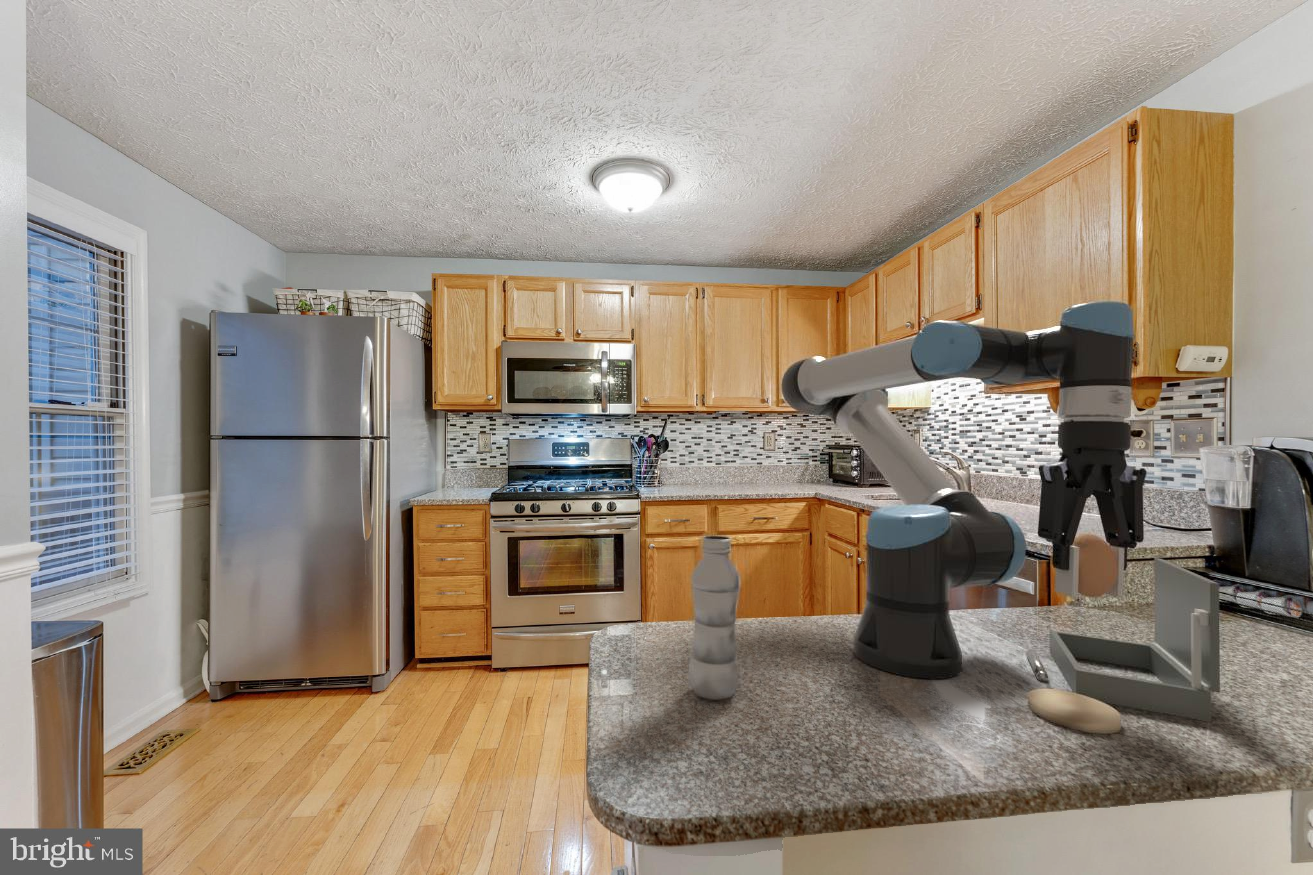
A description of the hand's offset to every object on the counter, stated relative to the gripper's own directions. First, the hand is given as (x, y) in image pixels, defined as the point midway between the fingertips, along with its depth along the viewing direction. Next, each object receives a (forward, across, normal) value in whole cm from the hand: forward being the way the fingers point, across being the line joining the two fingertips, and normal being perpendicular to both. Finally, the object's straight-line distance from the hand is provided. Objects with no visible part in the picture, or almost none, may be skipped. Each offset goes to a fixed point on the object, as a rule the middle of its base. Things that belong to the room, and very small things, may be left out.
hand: (1088, 594), depth 71 cm
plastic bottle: (+14, -50, +2) cm, 52 cm away
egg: (+1, 0, 0) cm, 1 cm away
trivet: (+13, -7, -5) cm, 16 cm away
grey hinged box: (+13, +9, +4) cm, 17 cm away
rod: (+14, +1, +9) cm, 17 cm away
